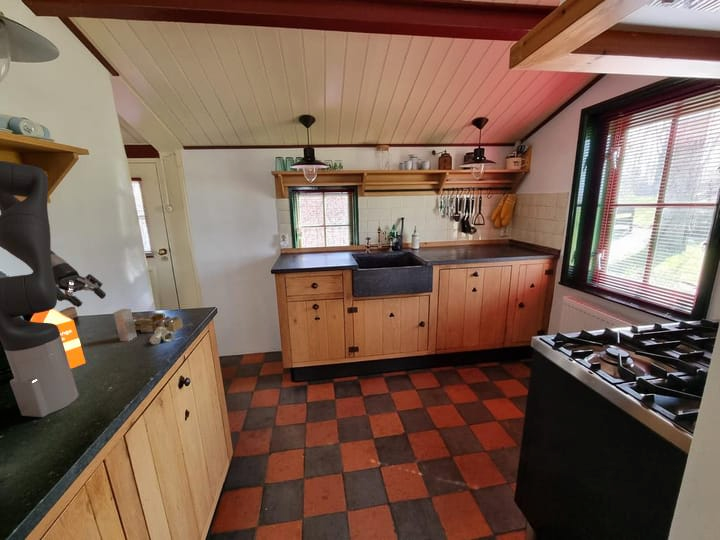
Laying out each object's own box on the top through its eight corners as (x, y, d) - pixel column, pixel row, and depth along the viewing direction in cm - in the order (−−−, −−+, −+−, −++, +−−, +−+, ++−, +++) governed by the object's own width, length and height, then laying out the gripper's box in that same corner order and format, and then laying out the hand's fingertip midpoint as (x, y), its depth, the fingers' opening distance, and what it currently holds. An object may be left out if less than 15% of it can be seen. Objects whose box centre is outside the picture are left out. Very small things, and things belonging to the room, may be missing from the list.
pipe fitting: (154, 348, 103) (175, 339, 108) (151, 338, 102) (172, 330, 107) (145, 342, 108) (166, 333, 113) (142, 332, 107) (163, 324, 112)
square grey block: (128, 341, 108) (122, 312, 105) (120, 341, 108) (113, 312, 105) (137, 336, 111) (130, 309, 108) (128, 336, 111) (122, 308, 109)
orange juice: (74, 356, 98) (57, 298, 93) (86, 362, 94) (69, 303, 89) (41, 368, 92) (21, 307, 87) (52, 375, 87) (32, 312, 83)
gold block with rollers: (172, 333, 113) (169, 321, 112) (122, 331, 116) (119, 319, 115) (184, 325, 120) (182, 313, 119) (137, 323, 123) (135, 312, 121)
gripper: (37, 267, 98) (76, 301, 99) (81, 258, 112) (115, 287, 113) (28, 282, 100) (67, 315, 101) (72, 272, 114) (106, 300, 115)
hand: (92, 300), depth 107 cm, fingers open, 8 cm apart
